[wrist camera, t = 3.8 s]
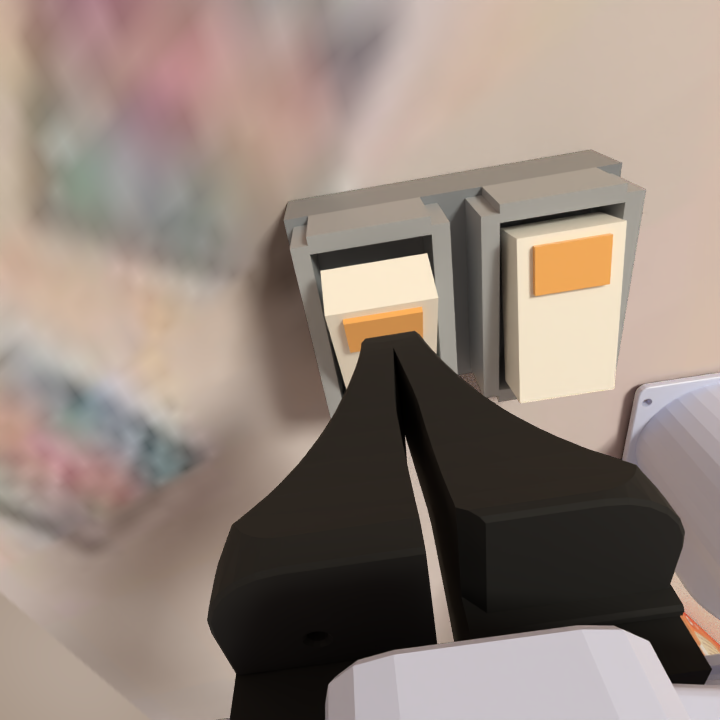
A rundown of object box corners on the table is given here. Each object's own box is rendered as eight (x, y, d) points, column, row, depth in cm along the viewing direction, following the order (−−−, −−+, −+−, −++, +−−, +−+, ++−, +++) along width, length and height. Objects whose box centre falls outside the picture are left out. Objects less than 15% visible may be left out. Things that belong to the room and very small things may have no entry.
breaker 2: (591, 366, 19) (617, 391, 18) (505, 380, 20) (521, 406, 18) (599, 211, 17) (630, 222, 15) (499, 227, 17) (518, 240, 15)
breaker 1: (426, 353, 21) (436, 395, 20) (346, 366, 21) (351, 408, 20) (427, 253, 15) (439, 303, 14) (320, 270, 16) (325, 321, 15)
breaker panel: (573, 326, 24) (621, 383, 20) (325, 365, 24) (325, 428, 20) (591, 149, 19) (657, 177, 15) (288, 201, 20) (278, 241, 16)
